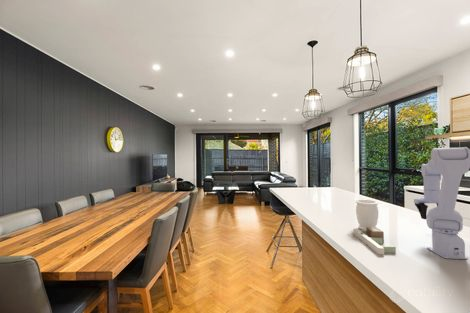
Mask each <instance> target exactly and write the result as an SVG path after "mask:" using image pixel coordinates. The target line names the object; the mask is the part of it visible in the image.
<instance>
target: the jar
mask: <svg viewBox="0 0 470 313" xmlns="http://www.w3.org/2000/svg"><path fill="white" fill-rule="evenodd" d="M355 203H356V206H355V207H356V208H355V214H356V215H355V216H356V220H357V223H358V225H359V226H358V229H359V230H366V227H377V225H378V222H379V221H378V220H379V209H378V208H379V207H378V204H379V202H378V201H375V200H370V199H358V200H355Z"/></svg>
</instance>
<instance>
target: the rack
mask: <svg viewBox="0 0 470 313" xmlns="http://www.w3.org/2000/svg"><path fill="white" fill-rule="evenodd" d="M352 231H353V235H354V236H356V237H357V238H358V239H360V241H361V242H362V243H364V244H366V245H367V246H368V247H369V248H370V249H371V250H373V251H374V252H375V253H376V254H378V255H379V256H380V255H382V256H384V255H385V253H386V254H387V253H390V254H397V253H396V252H397V250H396V249H397V248H396V246H395V245H381V244H384V242H383V238H377V237H368V236H367V235H366V230H362V229H360V228H353V230H352Z"/></svg>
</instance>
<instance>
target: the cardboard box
mask: <svg viewBox="0 0 470 313" xmlns="http://www.w3.org/2000/svg"><path fill="white" fill-rule="evenodd" d="M366 235H367V236H368V237H377V238H383V243H385V239H384V238H385V236H384V235H385V234H384V231H383V230H381V229H380V228H378V227H377V226H375V227H366Z"/></svg>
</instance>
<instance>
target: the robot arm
mask: <svg viewBox="0 0 470 313" xmlns="http://www.w3.org/2000/svg"><path fill="white" fill-rule="evenodd" d="M469 171H470V148H468V147H467V146H463V147H433V148H432V149H431V151H430V159H429V160H428V162H427V163H422V164H421V168H420V172H421V176H422V178H423V179H422V180H423V181H422V182H423V197H422V198H414V199H413V203H414V206H415V207H416V208H417V210H418V212H419V214H420V217H421V219H422V220H426V225H427V227H428V228H429V229H430V230H431V242H432V243H431V246H427V247H426V249H427V250H428V251H431V252H433V253H435V254H437V255H438V256H440V257H441V258H443V259H449V260H450V259H455V260H456V259H457V260H468V257H467V256H466V248H465V247H466V244H465V240H464V239H463V237H461V236H460V235H459V232H462V231H463V227H464V223H463V216H462V215H461V212H459V211H458V210H456V203H457V199H458V194H459V189H460V184H461V180H462V177H463V175H465V174H467V173H469ZM427 204H436V206H435V207H433V208H431V209H429V210H428V207H429V205H427ZM427 211H428V212H427Z"/></svg>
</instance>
